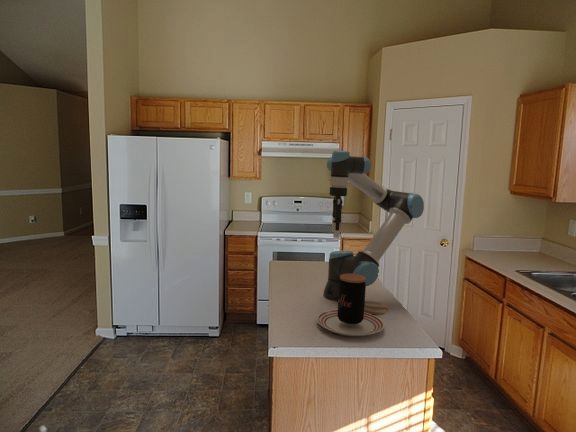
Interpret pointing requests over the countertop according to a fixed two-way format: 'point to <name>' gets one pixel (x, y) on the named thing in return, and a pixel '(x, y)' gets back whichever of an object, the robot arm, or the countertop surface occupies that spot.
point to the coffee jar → (351, 298)
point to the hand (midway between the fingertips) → (335, 234)
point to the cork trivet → (375, 308)
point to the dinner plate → (364, 328)
